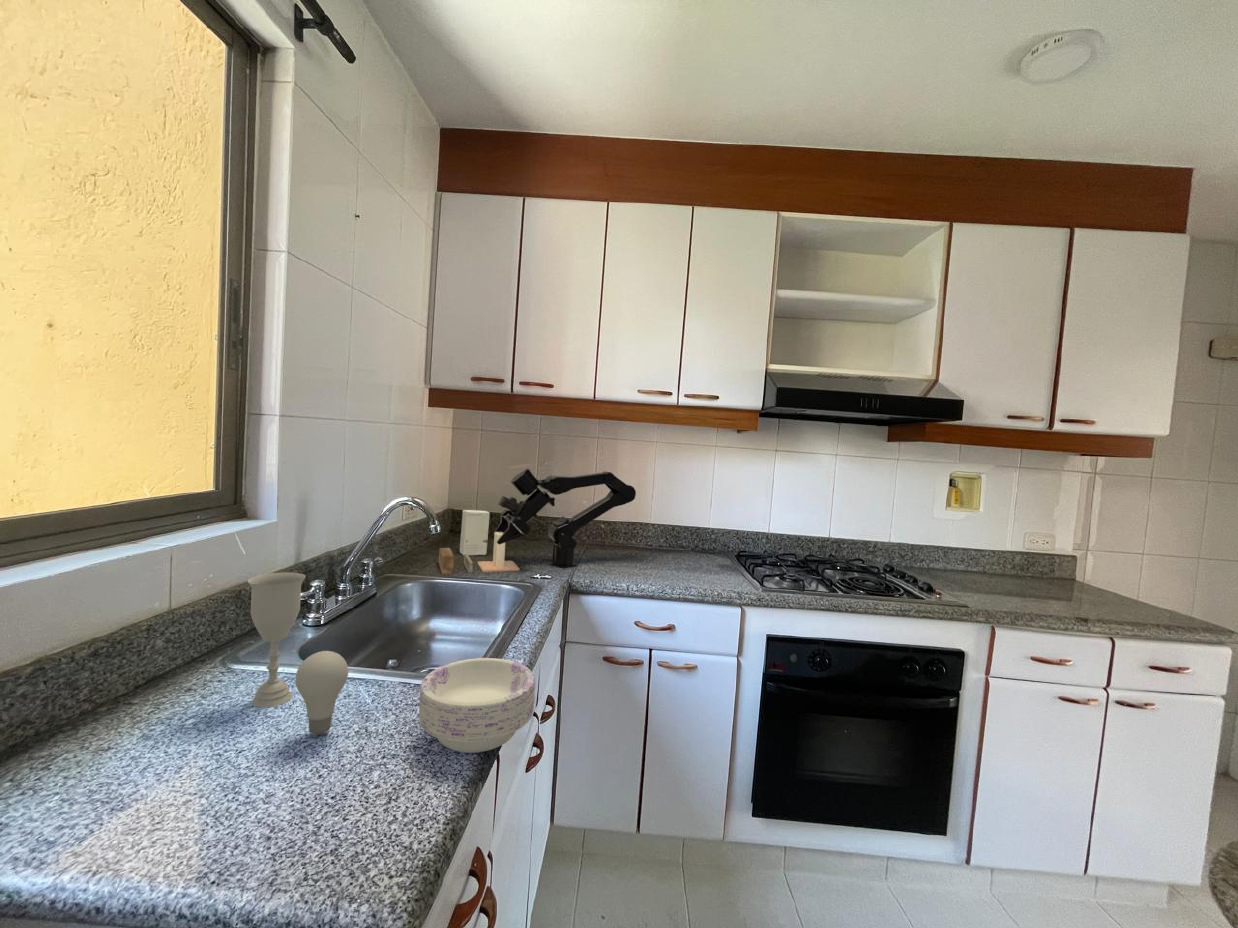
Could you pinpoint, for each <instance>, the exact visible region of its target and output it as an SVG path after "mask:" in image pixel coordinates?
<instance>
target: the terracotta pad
mask: <svg viewBox="0 0 1238 928" xmlns="http://www.w3.org/2000/svg"><path fill="white" fill-rule="evenodd" d="M477 565H478V566H479V568H480V569H481V571H482V573H487V572H490V573H491V572H517V571H518V572H519V571H520V568H519V566H517V564H516V563H515V562H514V561H513V560H504V567H495V566H494V564H493V560H490V561H489V560H486V561H485V560H484V561H483V560H482V561H477Z"/></svg>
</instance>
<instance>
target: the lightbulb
mask: <svg viewBox="0 0 1238 928" xmlns="http://www.w3.org/2000/svg"><path fill="white" fill-rule="evenodd" d="M347 663H348V662H347V661H346V660H345V658H344V657H343V656H341V654H339V653H337V652H335V651H330V650H322V651H318V652H314V653H313V654H311V655H310V656H308V657H306V658H305V659H304V660H303V661H302V662H301V664H300V665H299V666H298V668H297V670H296V673H295V679H294V681H295V687H296V689H297V690H298V693H299V694H300V696H301V698H302V699H303V701H304V704H305V707H306V717H307V719H308V732H309V733H310V734H313V735H315V736H316V737H317V736H323V735H324V733H326V732H328V731H329V730H330V729H331V727H332V720H333V719H332V717H333V714H334V712H335V707H336V701H337V699H338V698H339V697H338V696H339V694H340V693H341V691H342V690H343V689H344V686H345V685H346V683H347V680H348V677H349V668H348V667H349V666H348V664H347Z"/></svg>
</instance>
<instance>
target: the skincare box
mask: <svg viewBox="0 0 1238 928" xmlns="http://www.w3.org/2000/svg"><path fill="white" fill-rule="evenodd" d="M461 518H462V519H461V530H460V531H461V532H460V543H459V553H460V554H461V555H462V556H463V557H464V554H468V556H485V555H487V551H488V550H487V549H488V541H489V540H488V537H489V528H490V527H489V525H490V512H489V511H488V510H487V511H486V510H476V509H463V510H462V517H461Z"/></svg>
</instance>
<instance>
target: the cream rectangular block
mask: <svg viewBox="0 0 1238 928" xmlns="http://www.w3.org/2000/svg"><path fill="white" fill-rule="evenodd" d="M494 532H495V531H494ZM494 532H493V533H494ZM502 535H503V532H495V533H494V539H493V550H492V551H493V553H492V561H493V564H494V566H495V567H504V561H505V555H506V542H505V543H502V544H500V545H499V544H498V543H497V541H498V540H499V538H500V537H501V536H502Z"/></svg>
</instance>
